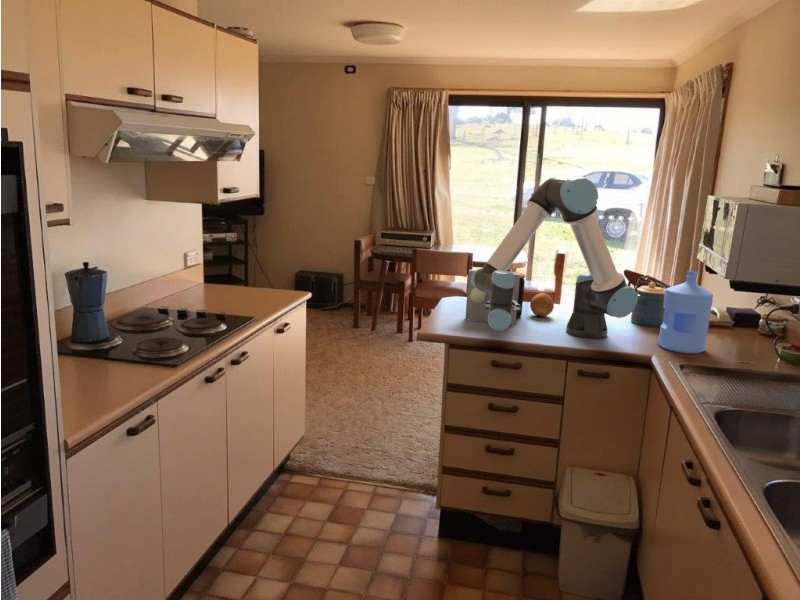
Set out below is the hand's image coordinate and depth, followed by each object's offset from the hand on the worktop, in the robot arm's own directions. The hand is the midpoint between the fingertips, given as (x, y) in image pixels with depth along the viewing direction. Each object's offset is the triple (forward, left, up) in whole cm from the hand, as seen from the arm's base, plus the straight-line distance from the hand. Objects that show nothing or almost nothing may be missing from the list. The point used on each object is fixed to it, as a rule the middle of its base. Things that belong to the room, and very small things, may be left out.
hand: (505, 298), depth 239 cm
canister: (+7, -64, -11) cm, 66 cm away
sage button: (+8, +9, -3) cm, 12 cm away
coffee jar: (+16, -7, -11) cm, 21 cm away
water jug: (-28, -58, -11) cm, 65 cm away
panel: (+7, +3, -11) cm, 13 cm away
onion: (+16, -21, -11) cm, 29 cm away
